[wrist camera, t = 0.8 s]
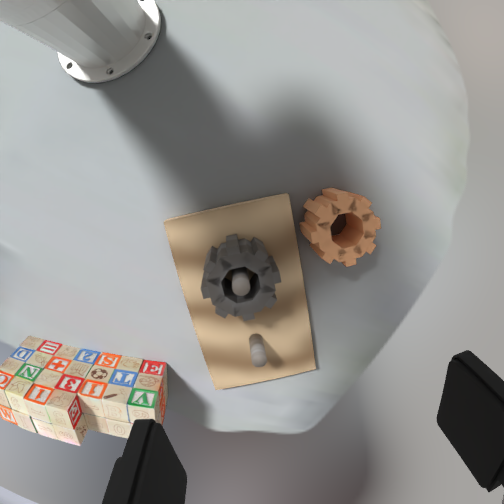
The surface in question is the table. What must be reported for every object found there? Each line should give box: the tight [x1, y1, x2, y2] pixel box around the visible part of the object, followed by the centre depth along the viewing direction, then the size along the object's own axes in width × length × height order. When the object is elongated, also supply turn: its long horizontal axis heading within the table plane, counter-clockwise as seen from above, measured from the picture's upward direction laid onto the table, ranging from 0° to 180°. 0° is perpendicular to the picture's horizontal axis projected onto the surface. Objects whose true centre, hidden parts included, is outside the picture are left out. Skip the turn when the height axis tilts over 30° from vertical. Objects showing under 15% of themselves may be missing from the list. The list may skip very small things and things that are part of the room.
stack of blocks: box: [0, 336, 168, 446], centre depth 32 cm, size 21×6×12 cm, turn 83°
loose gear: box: [299, 188, 381, 267], centre depth 32 cm, size 7×7×5 cm
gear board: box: [164, 193, 316, 390], centre depth 33 cm, size 22×13×7 cm, turn 12°
